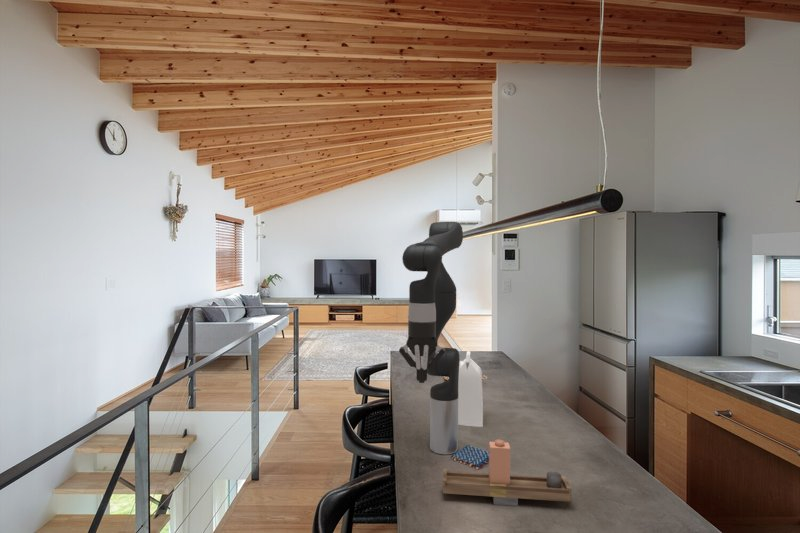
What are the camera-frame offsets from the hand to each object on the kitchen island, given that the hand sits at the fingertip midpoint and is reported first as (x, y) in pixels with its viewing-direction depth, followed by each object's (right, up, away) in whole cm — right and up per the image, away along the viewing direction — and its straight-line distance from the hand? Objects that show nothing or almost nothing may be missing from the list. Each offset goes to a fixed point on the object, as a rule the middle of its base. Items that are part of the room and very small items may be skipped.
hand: (421, 382), depth 116 cm
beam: (+21, -29, -5) cm, 37 cm away
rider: (+20, -25, -5) cm, 32 cm away
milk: (+20, -28, +49) cm, 60 cm away
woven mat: (+17, -29, +17) cm, 38 cm away
